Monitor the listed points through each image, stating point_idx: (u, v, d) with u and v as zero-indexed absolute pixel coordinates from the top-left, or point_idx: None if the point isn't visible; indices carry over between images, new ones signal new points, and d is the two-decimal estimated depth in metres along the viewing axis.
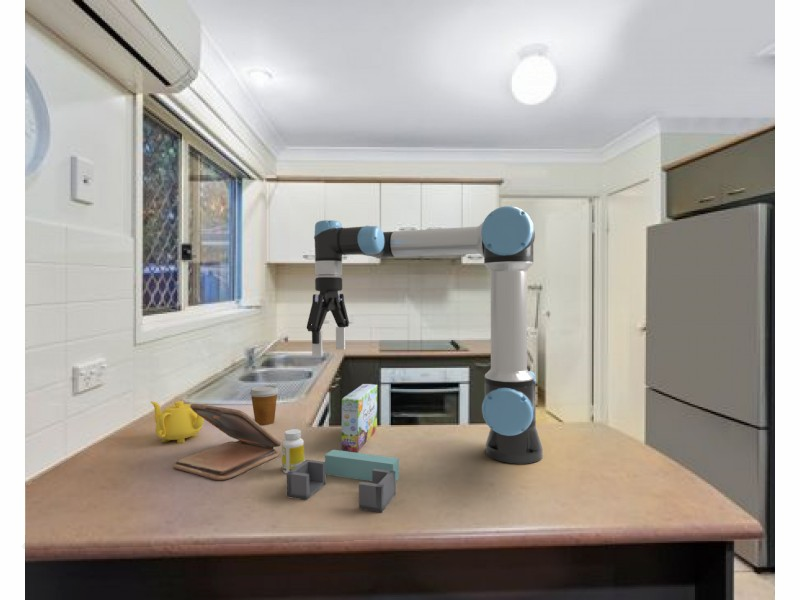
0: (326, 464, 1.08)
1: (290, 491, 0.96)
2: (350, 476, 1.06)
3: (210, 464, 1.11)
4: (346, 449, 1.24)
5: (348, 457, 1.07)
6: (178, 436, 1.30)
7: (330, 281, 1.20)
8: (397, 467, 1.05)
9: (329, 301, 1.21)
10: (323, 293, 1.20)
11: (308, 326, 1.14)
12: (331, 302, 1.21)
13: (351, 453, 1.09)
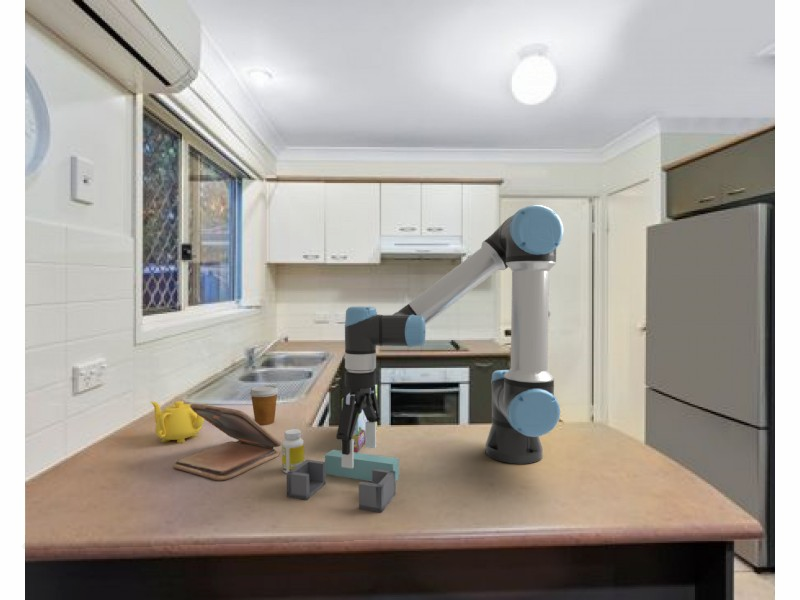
0: (326, 464, 1.08)
1: (290, 491, 0.96)
2: (350, 476, 1.06)
3: (210, 464, 1.11)
4: None
5: None
6: (178, 436, 1.30)
7: (363, 378, 1.03)
8: (397, 467, 1.05)
9: (361, 400, 1.04)
10: (355, 392, 1.03)
11: (338, 436, 0.98)
12: (363, 401, 1.04)
13: None
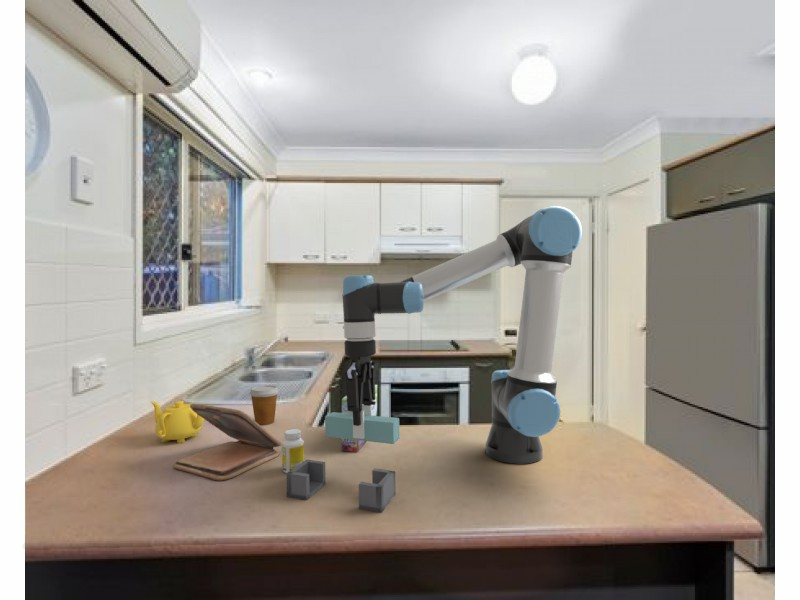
0: (326, 425, 1.08)
1: (290, 491, 0.96)
2: (350, 436, 1.06)
3: (210, 464, 1.11)
4: (346, 449, 1.24)
5: (348, 418, 1.07)
6: (178, 436, 1.30)
7: (362, 346, 1.03)
8: (397, 426, 1.05)
9: (362, 370, 1.04)
10: (355, 360, 1.03)
11: (349, 408, 1.02)
12: (364, 370, 1.04)
13: (351, 414, 1.09)
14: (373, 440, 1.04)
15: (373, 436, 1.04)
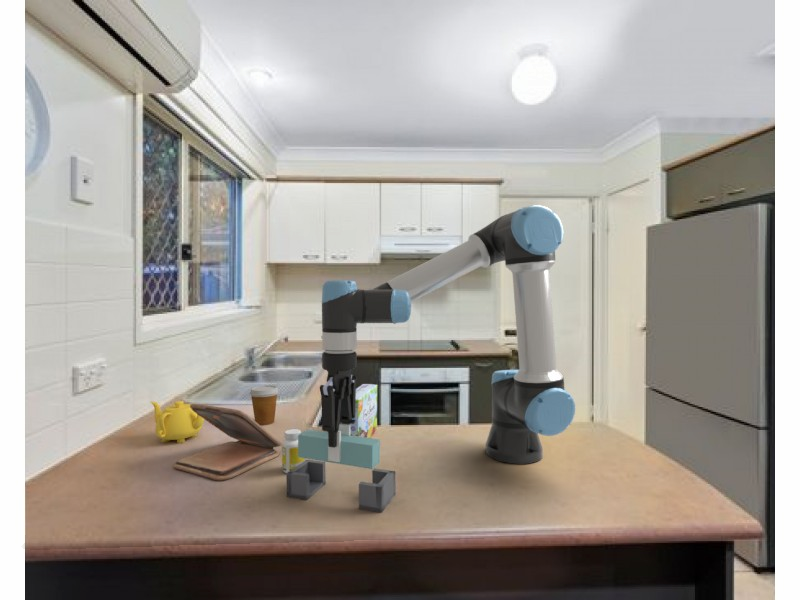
0: (299, 445, 0.98)
1: (290, 491, 0.96)
2: (325, 458, 0.96)
3: (210, 464, 1.11)
4: None
5: (323, 437, 0.96)
6: (178, 436, 1.30)
7: (341, 359, 0.93)
8: (377, 449, 0.95)
9: (341, 386, 0.94)
10: (332, 375, 0.93)
11: (324, 428, 0.92)
12: (342, 385, 0.94)
13: (327, 433, 0.99)
14: (350, 464, 0.94)
15: (350, 459, 0.94)
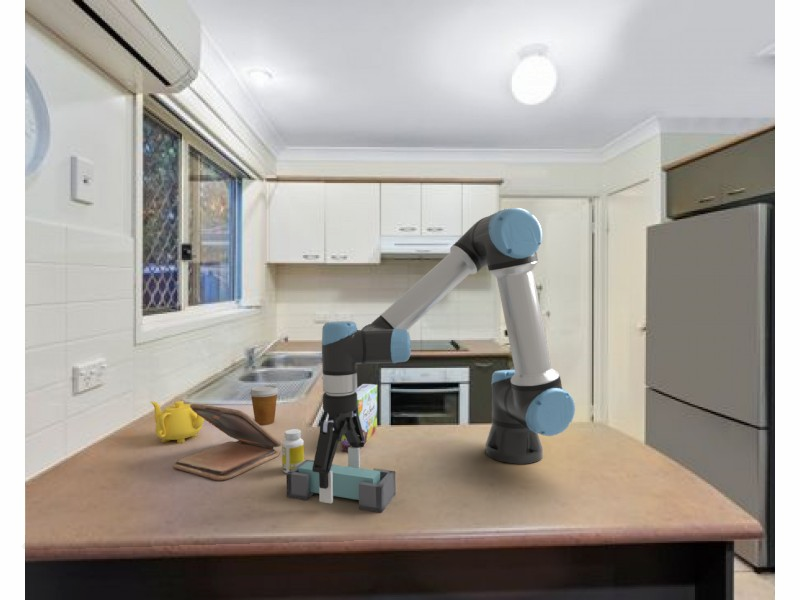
0: None
1: (290, 491, 0.96)
2: None
3: (210, 464, 1.11)
4: (346, 449, 1.24)
5: None
6: (178, 436, 1.30)
7: (342, 402, 0.93)
8: (378, 481, 0.95)
9: (341, 426, 0.94)
10: (333, 417, 0.93)
11: (314, 468, 0.88)
12: (343, 427, 0.94)
13: None
14: (351, 497, 0.94)
15: (351, 492, 0.94)
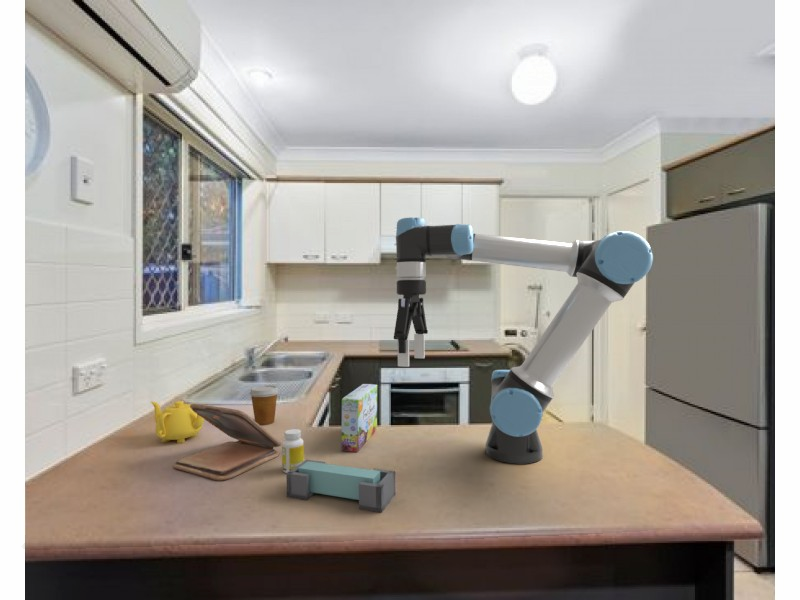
0: None
1: (290, 491, 0.96)
2: (326, 491, 0.96)
3: (210, 464, 1.11)
4: (346, 449, 1.24)
5: (324, 470, 0.96)
6: (178, 436, 1.30)
7: (415, 284, 1.09)
8: (378, 481, 0.95)
9: (414, 306, 1.10)
10: (408, 297, 1.09)
11: (396, 334, 1.04)
12: (416, 307, 1.10)
13: (328, 465, 0.99)
14: (351, 497, 0.94)
15: (351, 492, 0.94)
